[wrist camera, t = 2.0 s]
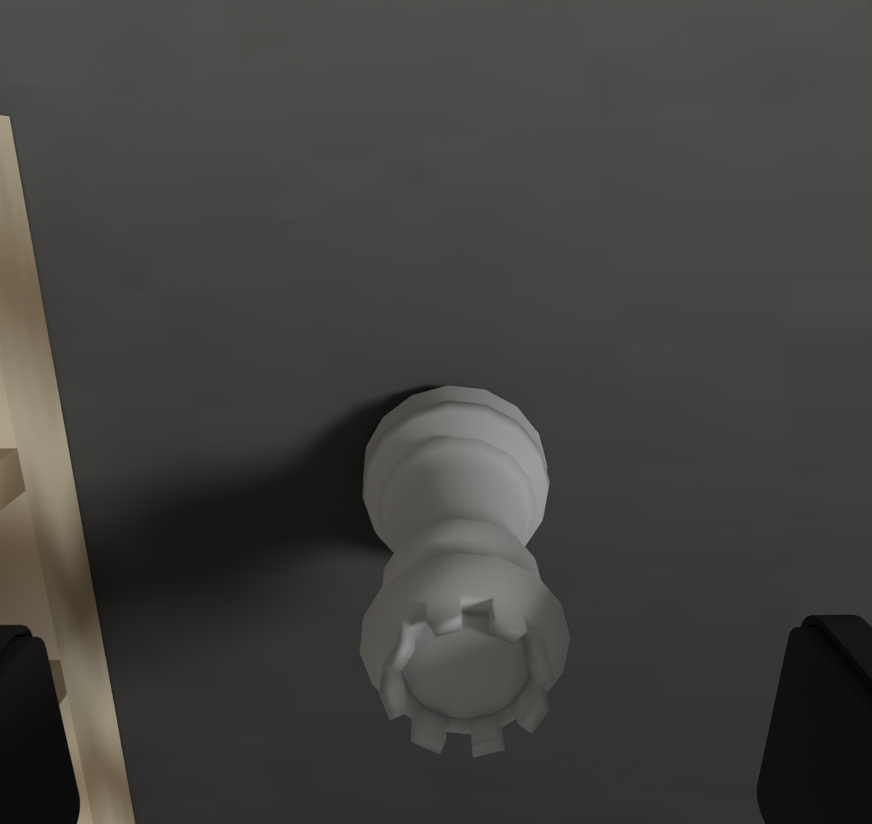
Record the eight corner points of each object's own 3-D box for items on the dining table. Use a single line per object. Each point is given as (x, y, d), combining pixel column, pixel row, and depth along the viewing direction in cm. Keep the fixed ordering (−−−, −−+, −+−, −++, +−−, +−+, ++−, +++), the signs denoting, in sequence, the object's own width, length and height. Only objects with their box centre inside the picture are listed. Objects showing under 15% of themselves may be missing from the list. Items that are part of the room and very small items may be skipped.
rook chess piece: (374, 551, 19) (332, 816, 11) (354, 386, 17) (288, 563, 10) (546, 538, 18) (623, 797, 11) (541, 372, 17) (623, 538, 9)
